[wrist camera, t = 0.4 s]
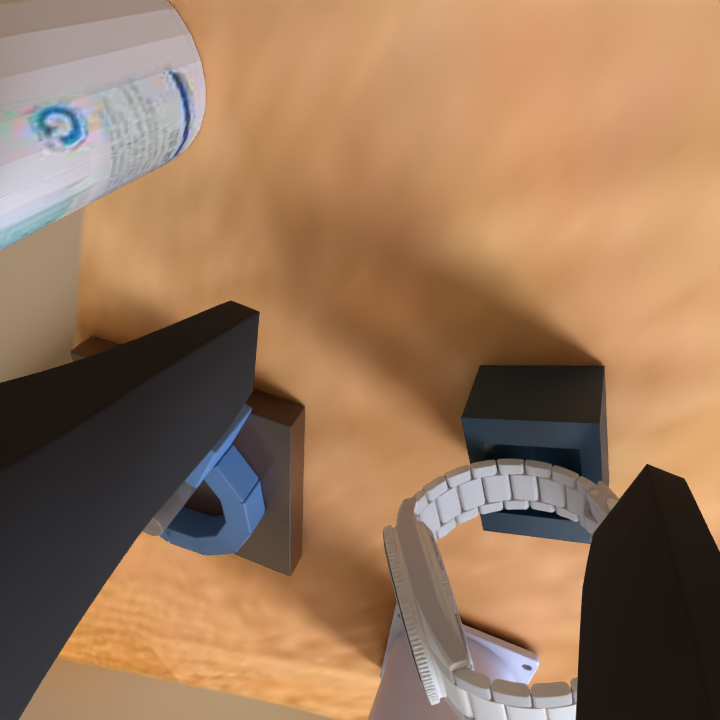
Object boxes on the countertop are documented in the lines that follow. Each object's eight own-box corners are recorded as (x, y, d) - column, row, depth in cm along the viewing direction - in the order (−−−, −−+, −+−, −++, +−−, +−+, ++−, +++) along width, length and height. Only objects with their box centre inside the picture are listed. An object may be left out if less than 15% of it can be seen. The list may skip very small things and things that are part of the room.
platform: (302, 556, 34) (260, 633, 30) (130, 487, 37) (73, 551, 33) (305, 405, 27) (251, 483, 23) (90, 334, 30) (11, 394, 26)
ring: (232, 553, 34) (203, 597, 32) (103, 465, 34) (64, 504, 31) (314, 450, 26) (283, 500, 24) (146, 333, 26) (98, 373, 23)
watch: (430, 365, 23) (311, 613, 15) (662, 366, 19) (678, 693, 11) (453, 471, 26) (364, 729, 17) (659, 488, 22) (671, 821, 14)
